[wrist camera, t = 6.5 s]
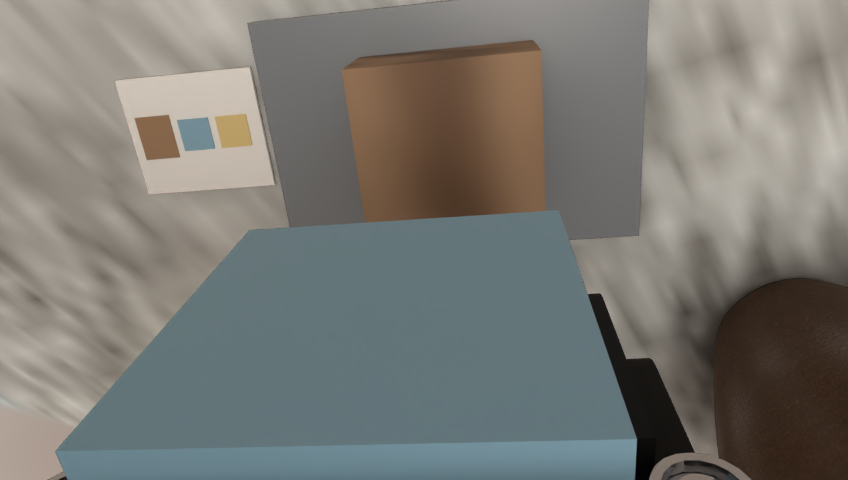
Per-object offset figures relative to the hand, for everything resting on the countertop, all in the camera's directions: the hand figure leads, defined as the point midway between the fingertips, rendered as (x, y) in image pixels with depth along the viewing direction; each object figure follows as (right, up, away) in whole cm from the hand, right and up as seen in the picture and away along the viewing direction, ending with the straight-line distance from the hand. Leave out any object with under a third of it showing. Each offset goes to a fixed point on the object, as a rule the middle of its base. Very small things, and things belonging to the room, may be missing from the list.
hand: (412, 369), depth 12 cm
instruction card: (-11, +8, +19) cm, 23 cm away
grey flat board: (+2, +8, +18) cm, 19 cm away
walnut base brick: (+2, +8, +17) cm, 19 cm away
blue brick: (0, 0, +1) cm, 1 cm away
